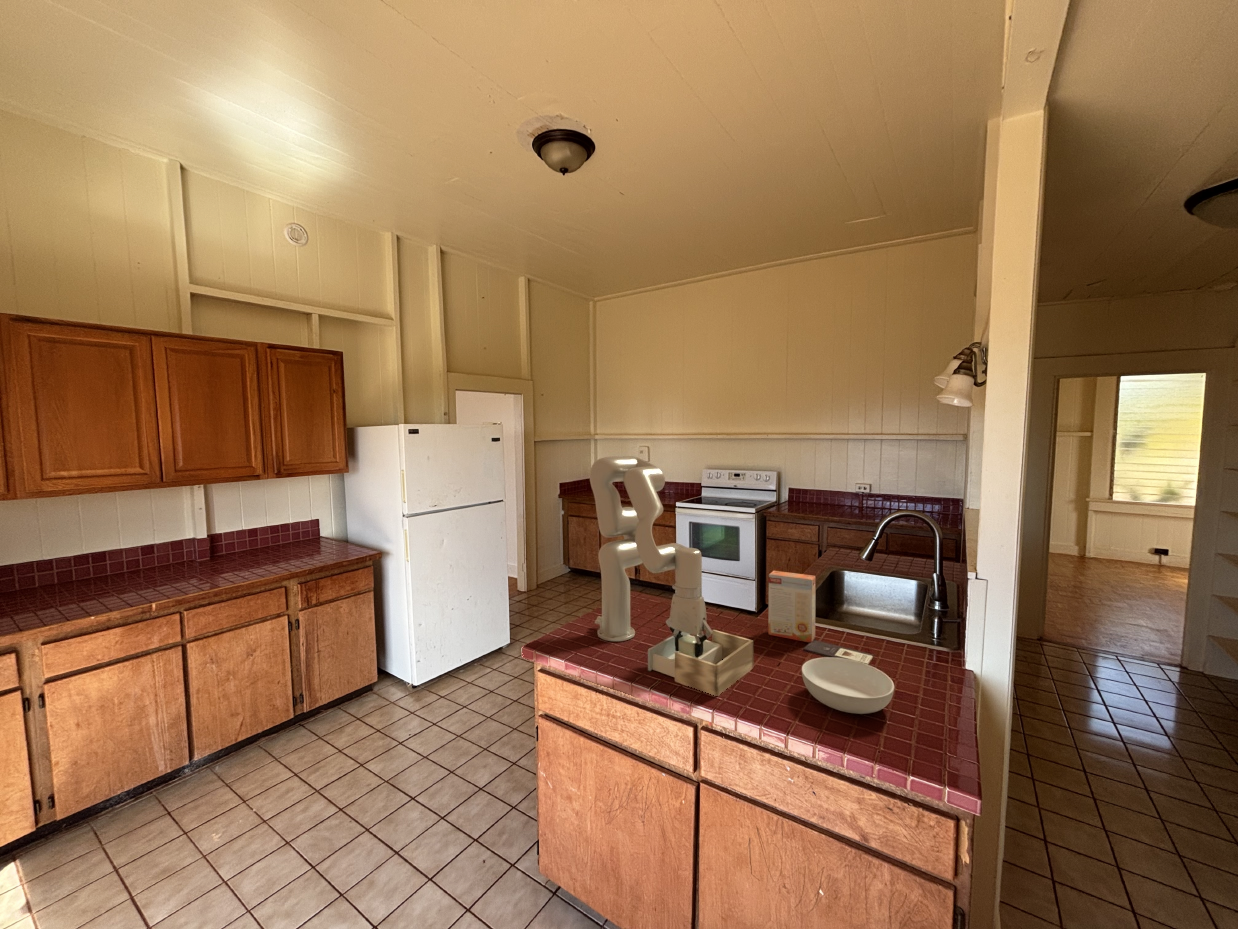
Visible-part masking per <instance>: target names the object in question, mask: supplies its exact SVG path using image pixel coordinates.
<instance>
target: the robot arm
mask: <svg viewBox="0 0 1238 929" xmlns="http://www.w3.org/2000/svg"><path fill="white" fill-rule="evenodd" d="M664 474H665V473H664V472H663V471H662V470H661V469H660V468H659V467H658V466H657V465H655V464H652V463H650V462H648V461H646V460H643V459H642V458H639V457H636V456H634V455H633V456H632V455H631V456H630V455H624V456H623V455H621V456H619V455H618V456H616V455H615V456H603V457H600V458H599V459H597V460H595V461H594V462H593V464H592V465H591V468H590V469H589V482H590V487H591V490H592V493H593V497H594V503H595V508H596V516H597V522H598V529H599V532H600V534H601V535H602V536H603V537H604V538H617V537H621V536H622V537H623V539H618V540H613V541H610V542H607V543H605V544H603V545H602V546H601V547H600V548H599V551H598V562H599V568H600V574H601V575H600V576H601V616H600V615H599V616H597V617H596V619H595V620H594V624H596V625H599V629H598V630H597V636H598V638H600V639H602V640H604V641H608V642H624V641H627V640H630V639H632V638H634V637H635V634H636V631H635V629H634V628H633V627H632V626H631V582H630V578H629V576H628V575H627V573H626V569H628V568H632V567H637V566H640V565H642V564H643V566H644V567H645V568H646V570H647V571H649V572H650V573H653V574H660V573H663V572H667V571H671V570H675V571H674V572H675V574H674V575H675V581H674V582H675V583H674V584H672V586H671V588H672V590H675V591H674V592H675V593H673V594H672V597H671V598H672V599H671V603H670V604H671V605H670V609H669V610H670V612H669V618H667V619H666V620H665V624H666V625H667V627H669V630H670V632H671V633H672V636H674V637H675V651H679V638H681V637H683V635H681V633H682V632H685V633H689V634H690V635H692V636H694V637H695V639H696V642H697V643H695V657H697V658H698V657H699V656H701V655H702V654H703V642H704V641H705V640H707V639H709V638H710V637H712V634H713V631H712V630H713V629H712V628H711V627H710V626H709V624H708V623H707V618H708V617H707V609H706V603H705V598H704V597H703V593H702V592H703V586H702V584H703V578H702V577H703V576H702V573H703V571H702V570H703V568H702V566H703V565H702V564H703V563H702V558H703V557H702V552H701V550H699V549H698V548H694V547H687V546H684V545H683V544H679V543H676V542H671V543H667V544H661V545H656V542H655V540H654V536H653V525H654V523H655V520H656V519H658V518H659V517H660V516H661V515H662V514H663V512H664V506H663V504H662V501H661V500H660V497H659V495H658V493H657V492H659V491H661V490H663V488H664V486H665V483H666V478H665V475H664ZM614 482H615V483H616V482H619V483H620V482H623V485H624V487H625V490H626V492H627V494H628V497H629V500H630V502H631V505H632V506H624V507H623V506H622V503H621V495H620V493H619V491H618V489H617V488H616V487H615V485H614V484H613V483H614ZM704 632H705V634H704Z"/></svg>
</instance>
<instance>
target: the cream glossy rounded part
mask: <svg viewBox="0 0 1238 929" xmlns="http://www.w3.org/2000/svg"><path fill="white" fill-rule="evenodd" d="M692 636H693V635H691V636H684V637H681V638H679V653H682V654H685V655H689V656H692V657H695V643H697V642H696V639H695V636H694V637H692ZM695 658H697V657H695ZM698 658H699V657H698Z"/></svg>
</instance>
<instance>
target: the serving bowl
mask: <svg viewBox="0 0 1238 929" xmlns="http://www.w3.org/2000/svg"><path fill="white" fill-rule="evenodd" d="M801 676H802V680H803V683H804V686H805V688H806V689H807V691H808V692H809V693H810V695H812V696H813V698H815V699H816V700H818V702H820V703H822V704H823V705H826V706H827V707H829V708H832V709H835V710H838V711H840V712H844V713H848V714H849V713H850V714H859V715H863V714H865V715H866V714H872V713H876V712H879V711H881V710H882V709H884V708H885V707H887V706H888V705H889V703H891V700H892V698H893V695H894V691H895V683H894V682H893V680H892V678H891V677H889V675H887V674H886V673H885V672H884V671H882V670H880V669H878V668H876V667H874V666H872V665H869V664H868V665H867V664H864V663H861V662H858V661H854V660H849V659H843V658H834V657H826V656H824V657H817V658H812V659H809V660H807V661H806V662H804V663H803V664H802V666H801Z"/></svg>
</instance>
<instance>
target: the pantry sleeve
mask: <svg viewBox="0 0 1238 929" xmlns="http://www.w3.org/2000/svg"><path fill="white" fill-rule="evenodd" d="M711 630H712V631H713V634H712V635H711V642H715V643H718V644H722V645H723V648H722V659H723V660H720V661H719V662H717V663H716V664H713V663H710V662H707V661H704V660H701V659H698V658H695V657H692V656H689V655H685V654H682V653H679V652H675V677H674V682H675V683H678V684H681V685H683V686H686V687H688V686H689V687H688V688H691V687H692V688H691V689H694V688H695V689H694V690H696V689H697V690H696V691H699V690H700V691H699V692H702V691H703V693H705V692H706V693H705V694H707V693H709V694H708V695H710V694H711V695H710V696H713V695H714V696H713V697H715V696H718V697H719V696H721V695H722V694H723V693H724V692H726V691H727V690H728V689H729V688H730V687H732V686H733V685H734V684H735V683H736V681H737V680H738V681H739V680H740V679H742V678H743V677H744V676H745V675H746V674H748V673H750V671H751V670H752V669H754V640H752V639H749V638H746V637H743V636H738V635H734V634H731V633H727V632H724V631H719V630H717V629H711ZM738 681H737V682H738ZM731 685H732V686H731ZM727 688H728V689H727ZM726 689H727V690H726ZM722 692H723V693H722ZM721 693H722V694H721ZM720 694H721V695H720Z"/></svg>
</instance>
